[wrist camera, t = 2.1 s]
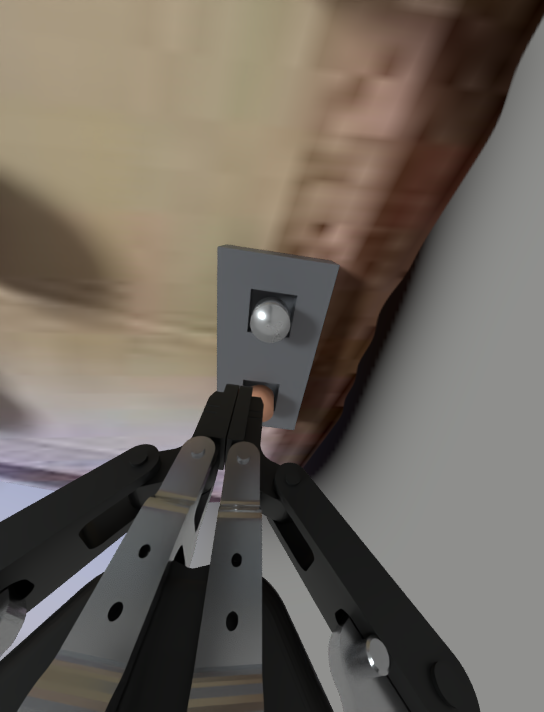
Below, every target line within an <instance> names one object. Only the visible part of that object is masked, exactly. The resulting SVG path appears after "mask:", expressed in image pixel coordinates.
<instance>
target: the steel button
mask: <svg viewBox="0 0 544 712" xmlns="http://www.w3.org/2000/svg"><path fill="white" fill-rule="evenodd" d="M250 328H251V331H252V333H253V334H254V336H255V337H256V338H258V339H259V340H261V341H263V342H267V343H274V342H278V341H280V340H282V339H283V338H284V337H285V336H286V335H287V334H288V332H289V330H290V316H289V310H288V307H287V305H286V304H285V303H284V302H283V301H282V300H281V299H279V298H276V297H266V298H263V299H261V300H260V301H259V302H258V303H257V304H256V305H255V308H254V310H253V313H252V316H251V320H250Z"/></svg>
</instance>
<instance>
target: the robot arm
mask: <svg viewBox="0 0 544 712" xmlns="http://www.w3.org/2000/svg"><path fill="white" fill-rule="evenodd" d="M252 391H253V387H249V386H242V385H241V386H240V385H234V384H226V387H225V389H224V392H218V391H215V392H214V393H213V394H212V395H211V396H210V397H209V399H208V401H207V404H206V406H205V408H204V411H203V413H202V415H201V418H200V420H199V423H198V425H197V427H196V430H195V432H194V434H193V436H192V438H191V439H189V440H188V441H187V442H185V444H184V445H183V446H181V447H179V448H176V449H171V450H165V451H158V449H157V448H156V447H155V446H153V445H149V444H143V445H138V446H135V447H133V448H131V449H129V450H128V451H126V452H124V453H122V454H121V455H119V456H117V457H115V458H113V459H112V460H110V461H108V462H106V463H104V464H103V465H101V466H99V467H97V468H96V469H94V470H92V471H90V472H88V473H87V474H85V475H83V476H81V477H80V478H78V479H76V480H74V481H72V482H71V483H69V484H67V485H65V486H64V487H62V488H60V489H58V490H56V491H55V492H53V493H51V494H49V495H48V496H46V497H44V498H42V499H41V500H39V501H37V502H35V503H33V504H31V505H30V506H28V507H26V508H24V509H23V510H21V511H19V512H17V513H15V514H14V515H12V516H10V517H8V518H7V519H5V520H3V521H1V522H0V656H1V655H2V654H3V653H4V652H5V651H6V650H7V649H8V648H9V647H10V646H11V644H12V643H13V642H14V640H15V639H16V637H17V635H18V633H19V631H20V629H21V627H22V625H23V623H24V620H25V617H26V613H27V612H28V611H30V610H31V609H32V608H34V607H35V606H36V605H37V604H39V603H40V602H41V601H42V600H43V599H45V598H46V597H47V596H48V595H50V594H51V593H52V592H53V591H55V590H56V589H57V588H58V587H60V586H61V585H62V584H63V583H65V582H66V581H67V580H68V579H69V578H71V577H72V576H73V575H74V574H76V573H77V572H78V571H79V570H81V569H82V568H83V567H84V566H86V565H87V564H88V563H89V562H90V561H92V560H93V559H94V558H95V557H97V556H98V555H99V554H101V553H102V552H103V551H104V550H105V549H107V548H108V547H109V546H110V545H112V544H113V543H114V542H115V541H117V540H118V539H119V538H120V537H122V536H123V535H124V534H125V533H127V534H126V535H125V537H124V539H123V541H122V542H121V544H120V546H119V547H118V549H117V551H116V553H115V555H114V557H113V558H112V560H111V561H110V564H109V565H108V567H107V568H106V570H105V572H103V573H102V574H100V575H98V576H97V577H95V578H94V579H93V580H91V581H90V582H89V583H87V584H86V585H85V586H84V587H83V588H81V589H80V590H79V591H78V592H77V593H76V594H75V595H74V596H72V597H71V598H70V599H69V600H68V601H67V602H66V603H65V604H63V605H62V606H61V607H60V608H59V609H58V610H57V611H56V612H55V613H53V614H52V615H51V616H50V617H49V618H48V619H47V620H46V621H45V622H43V623H42V624H41V625H40V626H39V627H38V628H37V629H36V630H34V631H33V632H32V633H31V634H30V635H29V636H28V637H27V638H26V639H24V640H23V641H22V642H21V643H20V644H19V645H18V646H17V647H15V648H14V649H13V650H12V651H11V652H10V653H9V654H8V655H7V656H6V657H4V658H3V659H2V660H1V661H0V712H333V709H332V707H331V705H330V703H329V701H328V698H327V696H326V694H325V692H324V690H323V688H322V685H321V683H320V681H319V679H318V677H317V674H316V672H315V670H314V668H313V666H312V664H311V662H310V659H309V657H308V655H307V653H306V651H305V648H304V646H303V644H302V642H301V640H300V637H299V635H298V633H297V631H296V629H295V627H294V624H293V622H292V620H291V618H290V616H289V614H288V612H287V609H286V607H285V605H284V603H283V601H282V599H281V598H280V596H279V594H278V593H277V592H276V590H275V589H274V588H273V587H272V585H271V584H270V583H269V582H268V581H267V580H266V579H264V578H263V577H262V514H264V515H265V516H267V519H268V521H269V523H270V525H271V526H272V528H273V530H274V532H275V533H276V535H277V537H278V539H279V540H280V542H281V544H282V546H283V547H284V549H285V551H286V552H287V554H288V556H289V558H290V560H291V561H292V563H293V565H294V566H295V568H296V570H297V572H298V573H299V575H300V577H301V579H302V580H303V582H304V584H305V586H306V587H307V589H308V591H309V593H310V594H311V596H312V598H313V600H314V601H315V603H316V605H317V607H318V608H319V610H320V612H321V614H322V615H323V617H324V619H325V620H326V622H327V624H328V626H329V628H330V629H331V631H332V634H331V638H330V641H329V649H328V655H329V665H330V670H331V674H332V677H333V680H334V683H335V685H336V687H337V690H338V692H339V695H340V698H341V702H342V706H343V711H344V712H480V708H479V704H478V700H477V697H476V694H475V691H474V689H473V686H472V684H471V682H470V680H469V678H468V676H467V674H466V672H465V670H464V668H463V667H462V665H461V664H460V662H459V661H458V659H457V658H456V657H455V655H454V654H453V653H452V652H451V650H450V649H449V648H448V647H447V645H446V644H445V643H444V642H443V641H442V639H441V638H440V637H439V636H438V634H437V633H436V632H435V631H434V629H433V628H432V627H431V626H430V624H429V623H428V622H427V621H426V620H425V618H424V617H423V616H422V614H421V613H420V612H419V611H418V610H417V608H416V607H415V606H414V605H413V603H412V602H411V601H410V600H409V599H408V597H407V596H406V595H405V594H404V592H403V591H402V590H401V589H400V588H399V586H398V585H397V584H396V583H395V581H394V580H393V579H392V577H390V575H389V574H388V573H387V571H386V570H385V569H384V568H383V566H382V565H381V564H380V563H379V561H378V560H377V559H376V558H375V557H374V555H373V554H372V553H371V552H370V551H369V549H368V548H367V547H366V545H365V544H364V543H363V542H362V541H361V539H360V538H359V537H358V536H357V534H356V533H355V532H354V531H353V530H352V528H351V527H350V526H349V525H348V523H347V522H346V521H345V520H344V518H343V517H342V516H341V515H340V514H339V512H338V511H337V510H336V508H335V507H334V506H333V505H332V503H331V502H330V501H329V500H328V499H327V497H326V496H325V495H324V494H323V492H322V491H321V490H320V489H319V487H318V486H317V485H316V484H315V483H314V481H313V480H312V479H311V478H310V476H309V475H308V474H307V473H306V472H305V470H304V469H303V468H302V467H301V466H299V465H297V464H295V463H284V464H282V465H279V464H276V463H274V462H272V461H270V460H269V459H268V458H266V457H265V455H264V454H263V452H262V450H261V447H260V442H261V431H262V419H263V409H264V404H263V401H262V399H261V397H254V396H252ZM224 465H225V475H224V482H223V488H222V495H221V502H220V507H219V511H218V517H217V523H216V530H215V536H214V542H213V549H212V555H211V562H210V565H206V566H202V567H198V568H193V569H192V568H189V567H190V564H191V561H192V557H193V554H194V550H195V546H196V541H197V536H198V533H199V530H200V527H201V524H202V521H203V517H204V515H205V512H206V508H207V505H208V503H209V500H210V497H211V494H212V491H213V488H214V483H215V480H216V476H217V472H218V469H219V470H223V469H224Z"/></svg>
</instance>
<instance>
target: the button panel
mask: <svg viewBox="0 0 544 712" xmlns="http://www.w3.org/2000/svg"><path fill="white" fill-rule="evenodd" d="M339 266H340V265H338V264H336V263H335V262H333V261H330V260H324V259H317V258H311V257H304V256H298V255H291V254H285V253H278V252H272V251H265V250H259V249H253V248H246V247H240V246H233V245H222V246H218V265H217V391H218V392H224V389H225V387H226V384H234V385H240V386H241V385H242V386H249V387H251V386H254V385H264V386H267V387H269V388H270V389H271V390H272V391H273V394H274V411H273V416H272V417H271V419H269V420H268V421H266V422H262V426H265V427H273V428H282V429H290V430H294V428H295V424H296V420H297V417H298V413H299V410H300V406H301V402H302V399H303V395H304V392H305V388H306V384H307V381H308V377H309V374H310V370H311V366H312V363H313V359H314V356H315V352H316V349H317V345H318V341H319V338H320V334H321V331H322V327H323V323H324V320H325V316H326V313H327V309H328V305H329V302H330V298H331V295H332V291H333V288H334V284H335V280H336V277H337V273H338V270H339ZM266 297H276V298H279V299H281V300H282V301H283V302H284V303H285V304H286V305H287V307H288V310H289V316H290V330H289V332H288V334H287V335H286V336H285V337H284V338H283V339H282V340H280V341H278V342H274V343H267V342H263V341H261V340H259V339H258V338H256V337H255V336H254V334H253V333H252V331H251V328H250V320H251V316H252V313H253V310H254V308H255V305H256V304H257V303H258V302H259V301H260V300H261V299H263V298H266Z"/></svg>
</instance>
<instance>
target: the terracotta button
mask: <svg viewBox="0 0 544 712" xmlns="http://www.w3.org/2000/svg"><path fill="white" fill-rule="evenodd" d="M251 387H253V391H252V396H254V397H261V399H262V401H263V404H264V409H263V419H262V422H266V421H268V420H269V419H271V417H272V416H273V411H274V394H273V391H272V390H271V389H270V388H269V387H267V386H264V385H254V386H251Z"/></svg>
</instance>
